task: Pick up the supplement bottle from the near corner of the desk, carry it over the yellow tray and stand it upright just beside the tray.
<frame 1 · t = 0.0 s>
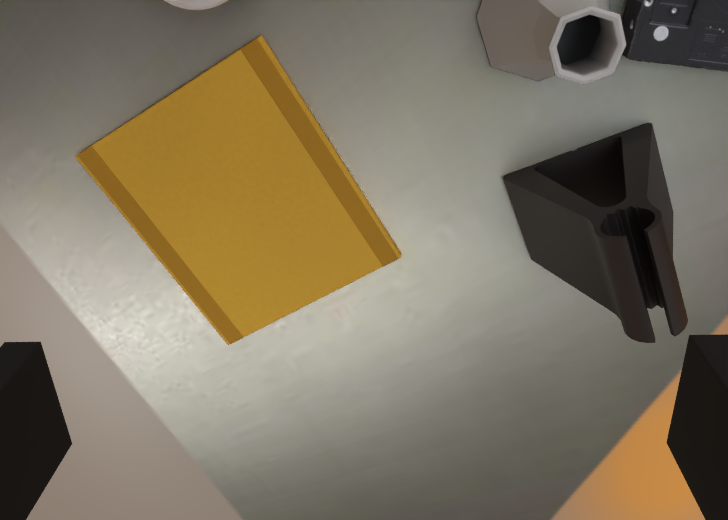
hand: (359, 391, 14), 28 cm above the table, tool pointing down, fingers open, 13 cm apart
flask: (541, 13, 38), on the table
yellow tray: (243, 205, 43), on the table
phone stand: (586, 191, 42), on the table
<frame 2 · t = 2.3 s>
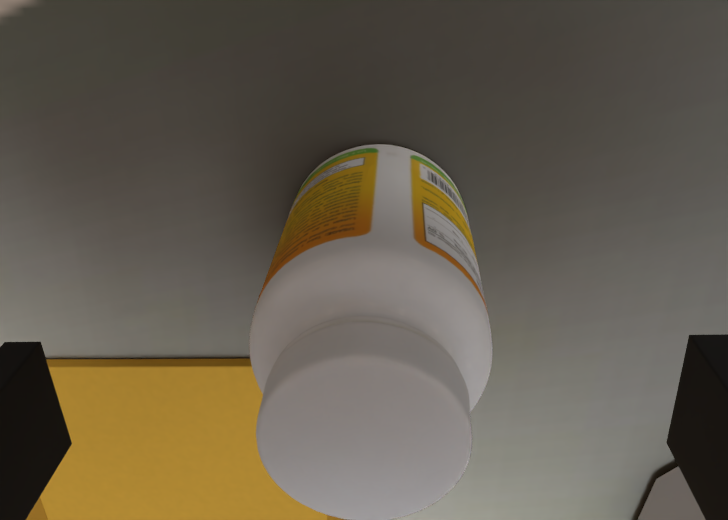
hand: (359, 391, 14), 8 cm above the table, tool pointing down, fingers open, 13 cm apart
supplement bottle: (379, 221, 21), on the table
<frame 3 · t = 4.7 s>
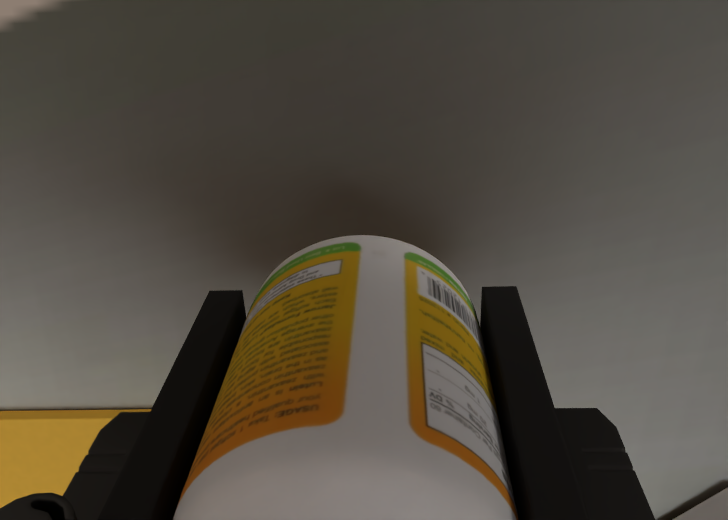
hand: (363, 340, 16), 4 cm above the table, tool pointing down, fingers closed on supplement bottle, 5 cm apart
supplement bottle: (364, 327, 16), point 4 cm above the table, touching gripper
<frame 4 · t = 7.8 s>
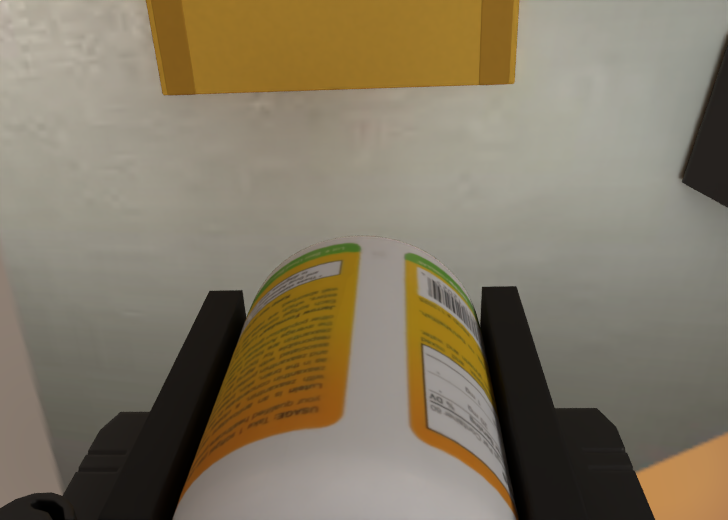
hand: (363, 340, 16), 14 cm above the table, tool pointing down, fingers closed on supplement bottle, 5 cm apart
supplement bottle: (364, 328, 16), point 14 cm above the table, touching gripper
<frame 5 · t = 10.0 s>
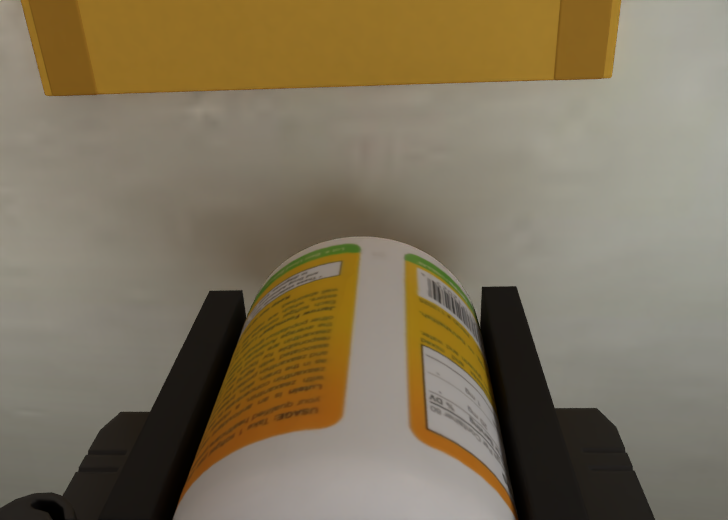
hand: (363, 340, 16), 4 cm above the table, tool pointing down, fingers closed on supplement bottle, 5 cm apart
supplement bottle: (364, 328, 16), point 4 cm above the table, touching gripper
when the fingers open (0 cm above the table, at t = 11.3 s): supplement bottle stays where it is, on the table.
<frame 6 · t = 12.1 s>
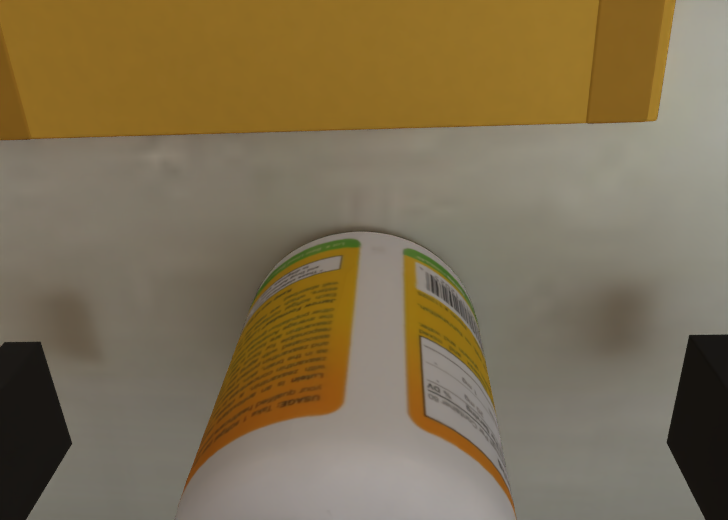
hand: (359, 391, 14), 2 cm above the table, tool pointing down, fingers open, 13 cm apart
supplement bottle: (363, 322, 17), on the table
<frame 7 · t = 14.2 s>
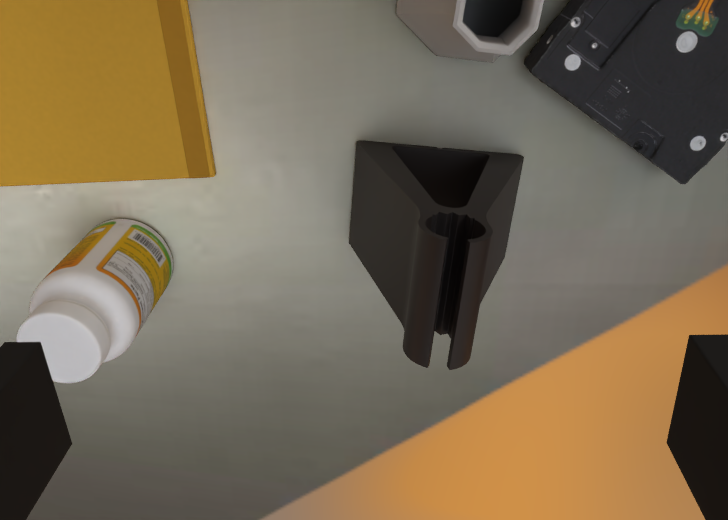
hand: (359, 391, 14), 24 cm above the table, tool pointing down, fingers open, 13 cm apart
yellow tray: (57, 31, 35), on the table
phone stand: (432, 197, 38), on the table
supplement bottle: (131, 256, 41), on the table
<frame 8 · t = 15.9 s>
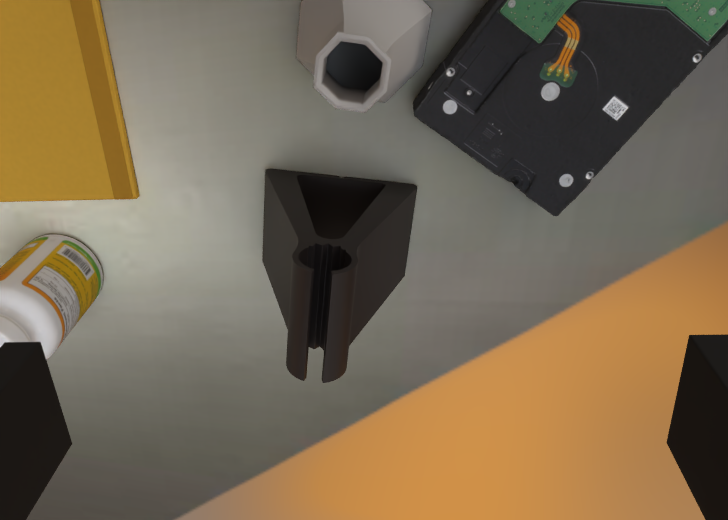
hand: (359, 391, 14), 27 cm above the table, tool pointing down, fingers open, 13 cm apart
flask: (363, 33, 37), on the table
phone stand: (338, 220, 42), on the table
disk drive: (568, 45, 36), on the table
supplement bottle: (65, 268, 44), on the table
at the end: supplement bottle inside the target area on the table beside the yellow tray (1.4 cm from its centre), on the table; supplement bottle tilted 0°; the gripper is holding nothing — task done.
